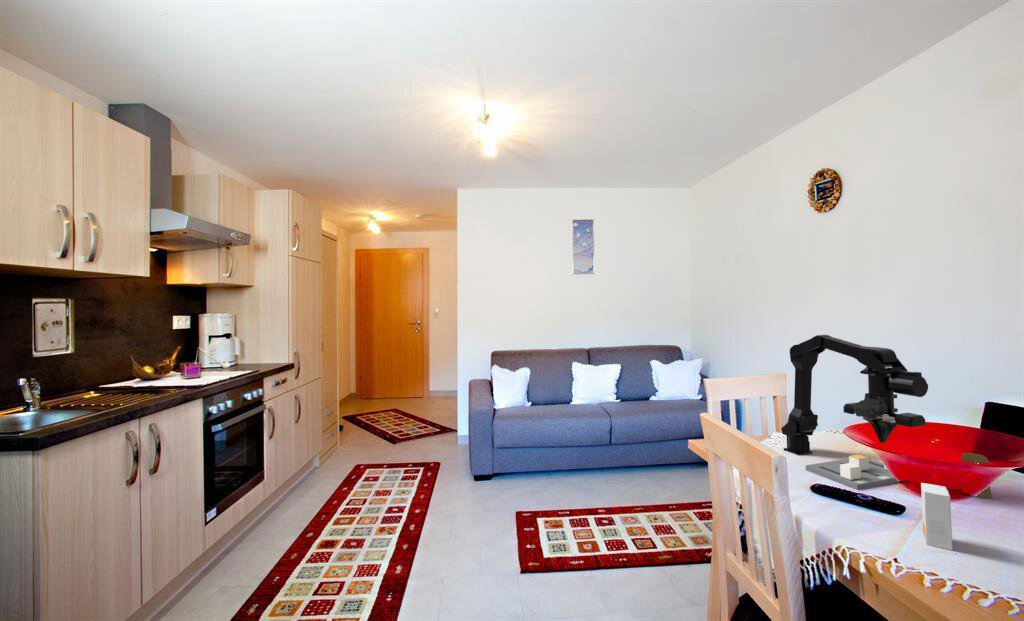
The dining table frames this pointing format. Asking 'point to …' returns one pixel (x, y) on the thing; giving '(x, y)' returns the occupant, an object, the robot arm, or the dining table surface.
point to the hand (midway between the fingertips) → (882, 442)
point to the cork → (978, 459)
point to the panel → (867, 480)
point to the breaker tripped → (860, 461)
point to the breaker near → (850, 471)
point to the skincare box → (936, 516)
